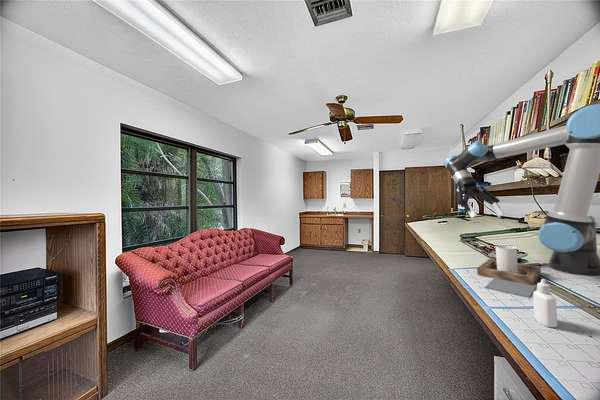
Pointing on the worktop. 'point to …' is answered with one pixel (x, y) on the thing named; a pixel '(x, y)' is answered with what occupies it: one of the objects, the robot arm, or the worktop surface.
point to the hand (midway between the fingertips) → (487, 216)
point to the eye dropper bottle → (545, 305)
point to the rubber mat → (511, 287)
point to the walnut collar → (529, 279)
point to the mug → (506, 258)
